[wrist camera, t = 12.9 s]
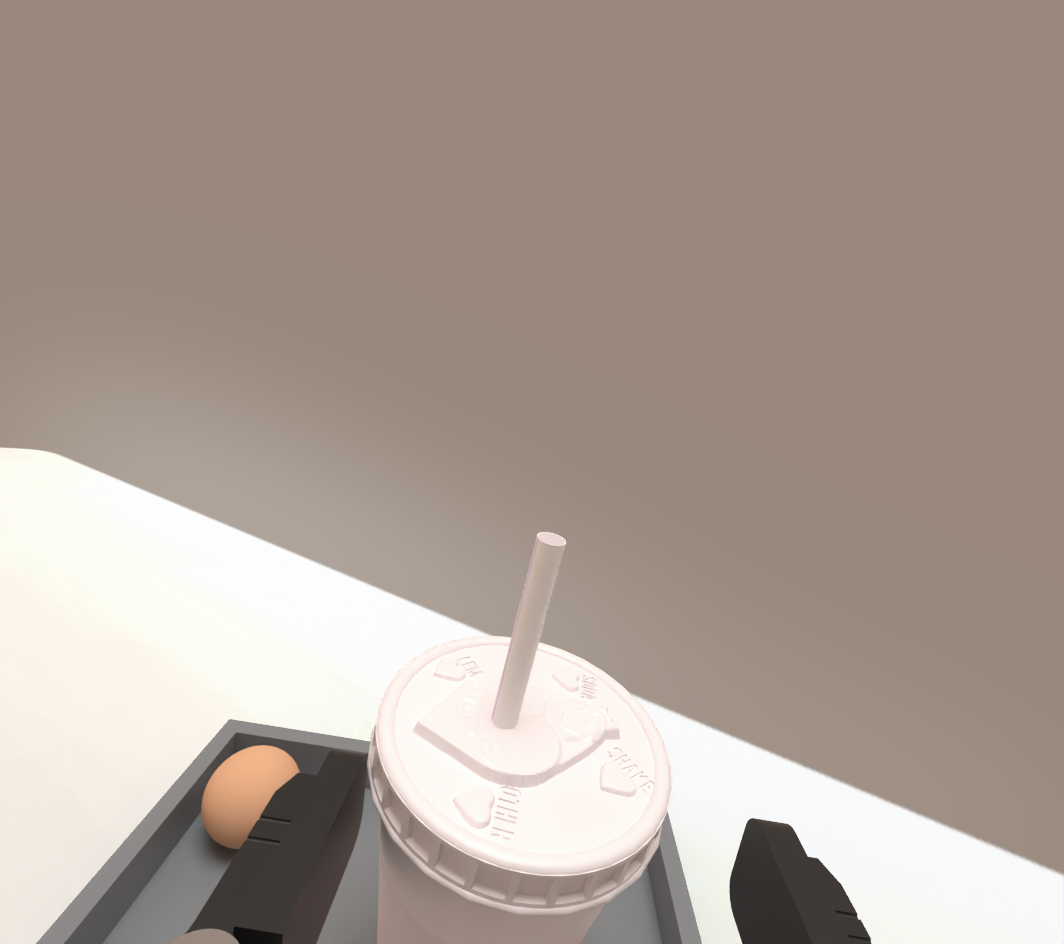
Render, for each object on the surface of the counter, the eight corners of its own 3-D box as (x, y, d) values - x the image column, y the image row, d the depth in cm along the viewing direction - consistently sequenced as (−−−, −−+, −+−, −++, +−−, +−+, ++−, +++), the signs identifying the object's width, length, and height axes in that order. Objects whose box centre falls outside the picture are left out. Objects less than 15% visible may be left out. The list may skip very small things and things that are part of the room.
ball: (312, 802, 20) (319, 733, 19) (272, 879, 17) (278, 801, 16) (232, 789, 20) (235, 720, 19) (179, 865, 17) (180, 785, 16)
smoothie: (326, 904, 16) (399, 464, 12) (529, 878, 18) (647, 496, 14) (302, 1259, 10) (425, 642, 6) (602, 1162, 12) (836, 651, 8)
